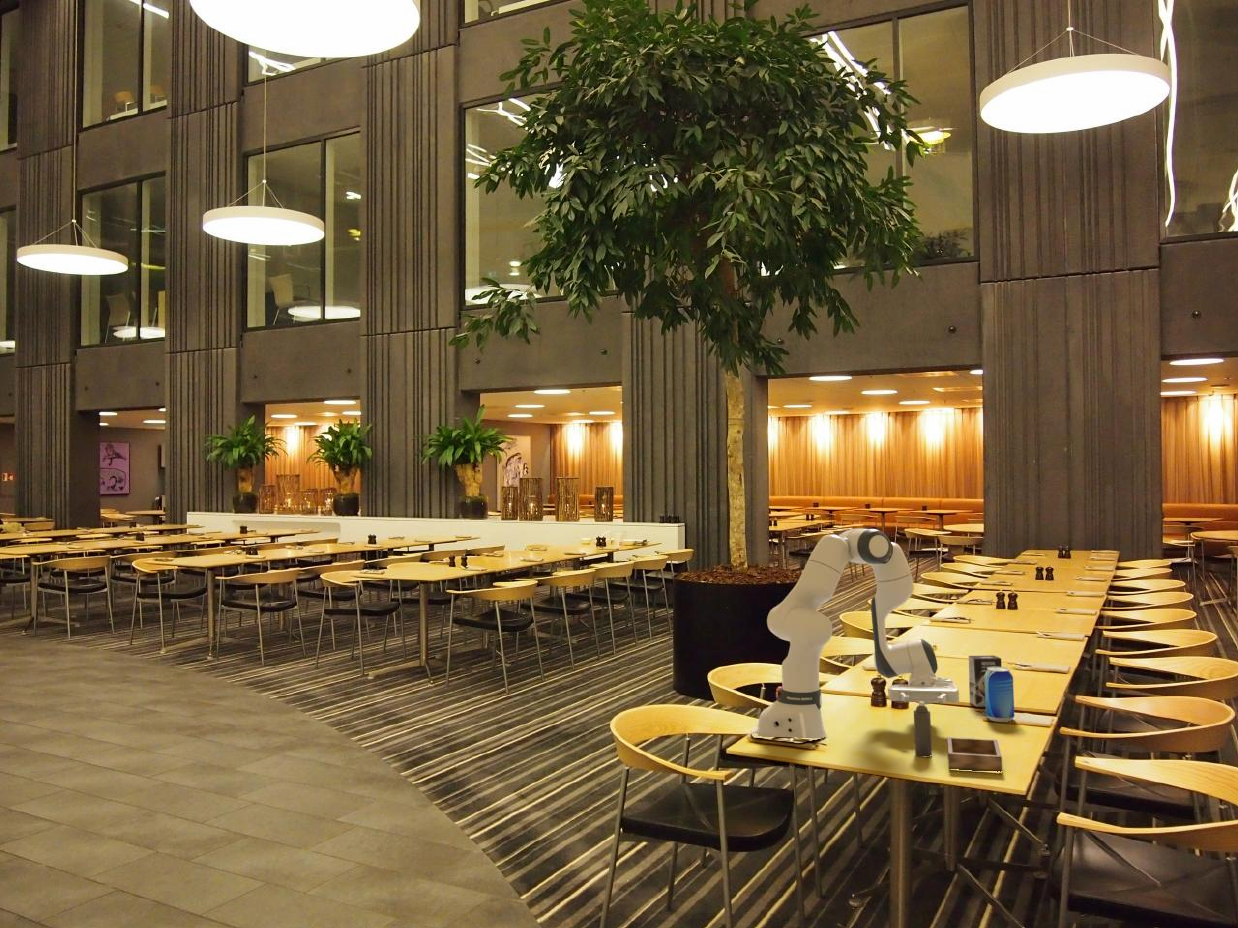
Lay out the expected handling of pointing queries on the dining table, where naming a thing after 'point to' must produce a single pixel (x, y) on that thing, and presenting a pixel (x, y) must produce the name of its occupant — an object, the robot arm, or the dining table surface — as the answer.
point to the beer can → (999, 694)
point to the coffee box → (980, 677)
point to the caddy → (974, 754)
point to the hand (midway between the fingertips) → (923, 699)
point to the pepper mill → (922, 730)
